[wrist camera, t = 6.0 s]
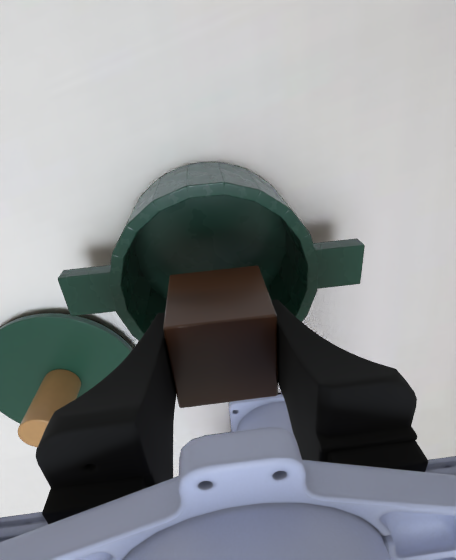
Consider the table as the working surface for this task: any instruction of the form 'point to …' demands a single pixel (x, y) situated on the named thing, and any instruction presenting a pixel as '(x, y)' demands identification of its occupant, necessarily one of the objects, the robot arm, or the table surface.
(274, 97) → the table surface
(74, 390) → the lid
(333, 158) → the table surface
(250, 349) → the block
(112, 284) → the pot
